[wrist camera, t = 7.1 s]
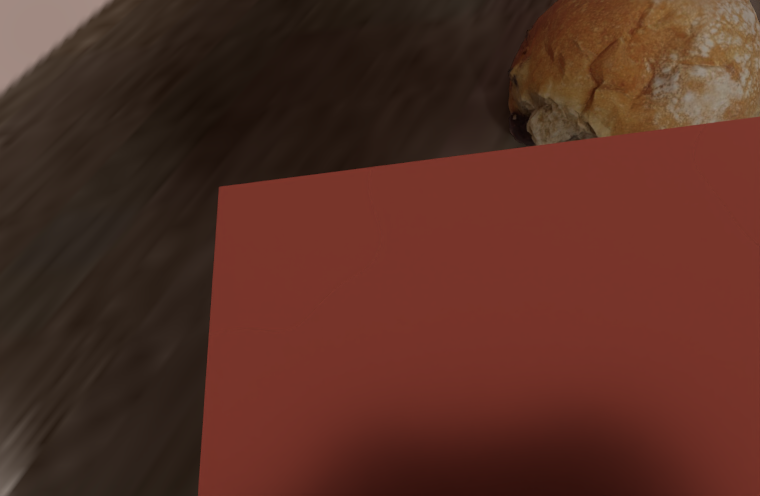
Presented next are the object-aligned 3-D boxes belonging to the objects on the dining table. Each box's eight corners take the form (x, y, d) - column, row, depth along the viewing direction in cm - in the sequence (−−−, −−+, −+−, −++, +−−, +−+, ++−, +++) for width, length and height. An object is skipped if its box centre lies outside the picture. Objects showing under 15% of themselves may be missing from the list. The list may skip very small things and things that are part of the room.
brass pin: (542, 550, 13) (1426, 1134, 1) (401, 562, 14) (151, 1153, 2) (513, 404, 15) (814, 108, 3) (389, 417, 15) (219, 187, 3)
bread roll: (688, 232, 24) (885, 127, 17) (507, 212, 20) (666, 70, 14) (626, 78, 28) (765, -55, 21) (468, 39, 25) (575, -133, 18)
